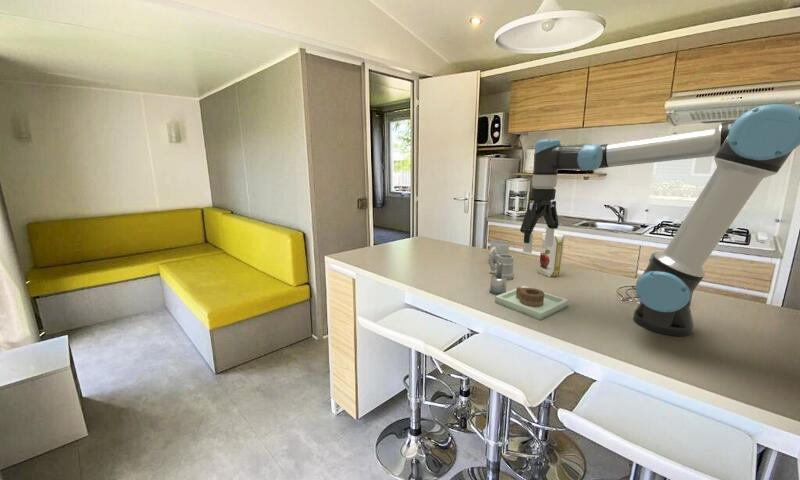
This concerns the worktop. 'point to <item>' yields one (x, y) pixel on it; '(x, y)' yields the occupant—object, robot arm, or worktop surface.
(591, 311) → the worktop surface
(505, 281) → the grey bottle
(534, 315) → the tray
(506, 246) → the mug
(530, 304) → the ring
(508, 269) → the mug
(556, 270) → the juice carton
